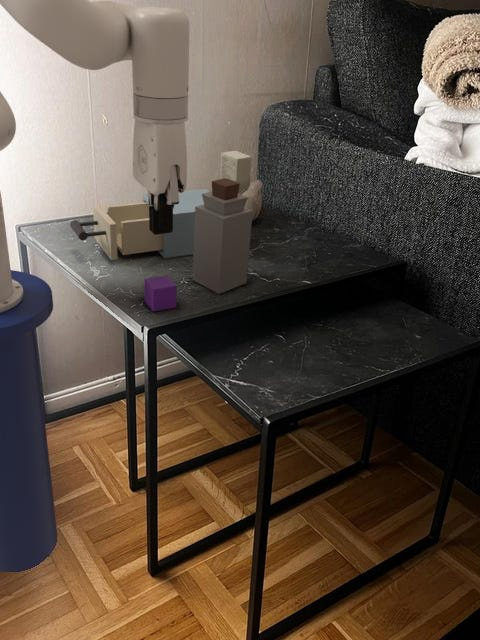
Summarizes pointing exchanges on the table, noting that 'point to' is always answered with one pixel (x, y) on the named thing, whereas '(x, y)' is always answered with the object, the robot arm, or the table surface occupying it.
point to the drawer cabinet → (182, 224)
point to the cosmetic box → (236, 168)
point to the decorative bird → (254, 198)
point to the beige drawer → (121, 229)
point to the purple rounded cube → (160, 293)
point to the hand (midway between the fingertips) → (161, 231)
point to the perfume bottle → (222, 237)
